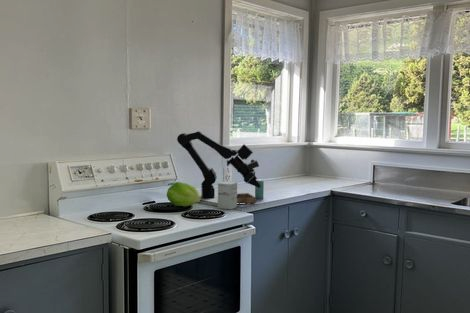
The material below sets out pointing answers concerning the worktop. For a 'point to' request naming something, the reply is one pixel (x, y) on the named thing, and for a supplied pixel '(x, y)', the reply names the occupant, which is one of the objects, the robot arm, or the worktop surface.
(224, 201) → the grey stone cylinder
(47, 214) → the worktop surface
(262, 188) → the tea tin
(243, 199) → the box
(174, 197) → the green oval fruit
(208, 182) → the robot arm
